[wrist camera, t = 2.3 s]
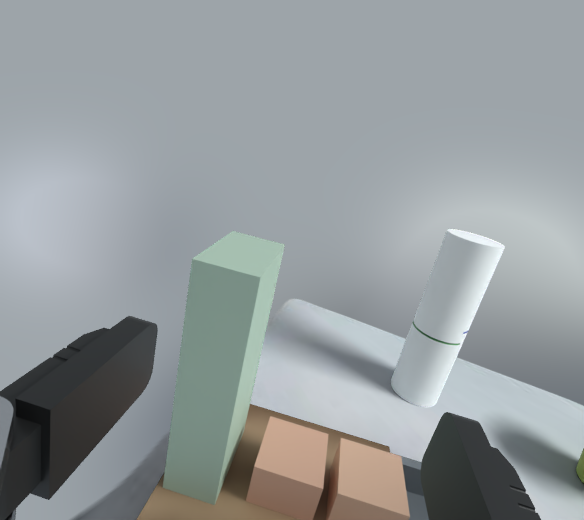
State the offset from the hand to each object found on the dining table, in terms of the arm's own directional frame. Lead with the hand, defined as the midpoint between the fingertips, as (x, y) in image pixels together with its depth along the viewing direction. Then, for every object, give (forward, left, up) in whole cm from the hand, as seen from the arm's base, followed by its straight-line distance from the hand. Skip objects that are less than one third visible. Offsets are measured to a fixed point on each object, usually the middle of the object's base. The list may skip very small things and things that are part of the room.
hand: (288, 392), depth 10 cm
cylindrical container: (-43, -12, -26) cm, 52 cm away
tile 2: (-11, -7, -19) cm, 23 cm away
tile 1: (-15, -3, -19) cm, 24 cm away
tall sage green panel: (-7, -12, -19) cm, 24 cm away
